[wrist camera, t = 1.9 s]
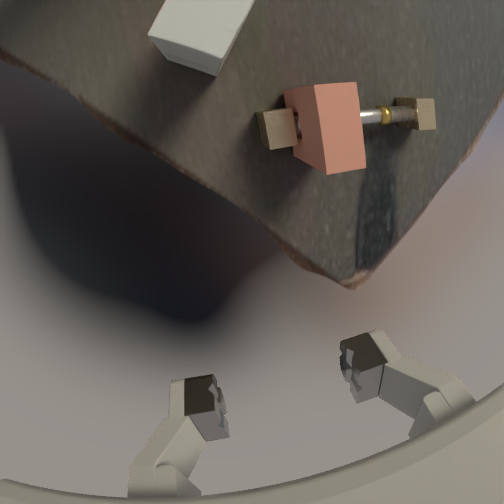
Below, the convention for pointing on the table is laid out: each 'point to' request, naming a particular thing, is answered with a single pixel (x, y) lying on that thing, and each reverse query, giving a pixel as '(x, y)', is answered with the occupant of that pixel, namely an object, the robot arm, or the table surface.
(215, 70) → the small box
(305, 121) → the collar
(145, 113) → the table surface
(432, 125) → the pipe rig
